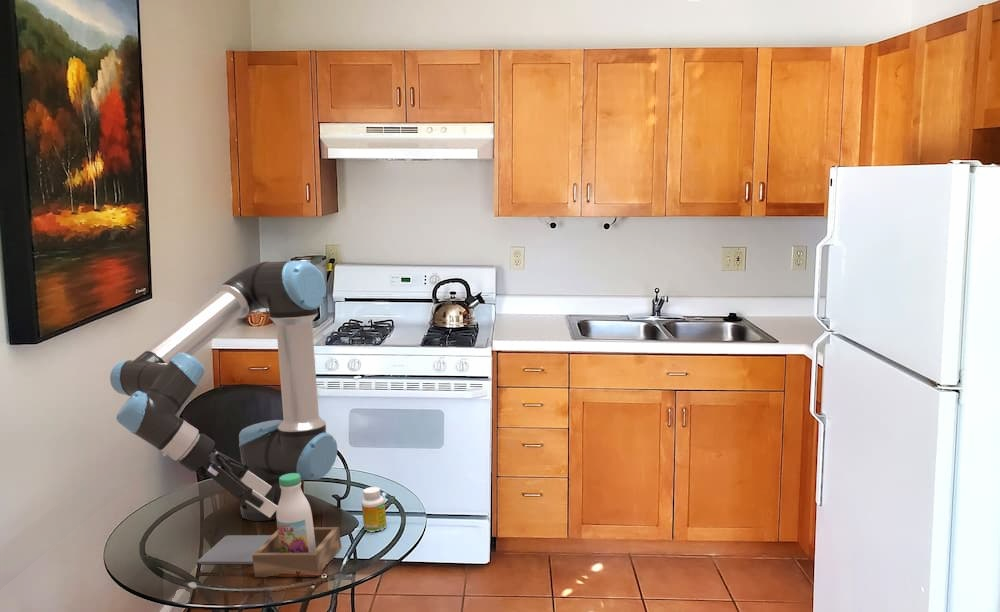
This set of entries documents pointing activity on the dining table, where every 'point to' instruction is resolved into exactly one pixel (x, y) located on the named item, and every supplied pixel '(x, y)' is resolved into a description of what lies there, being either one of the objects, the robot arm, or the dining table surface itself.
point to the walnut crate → (297, 554)
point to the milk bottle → (294, 517)
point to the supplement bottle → (373, 510)
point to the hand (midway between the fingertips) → (271, 501)
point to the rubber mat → (234, 549)
